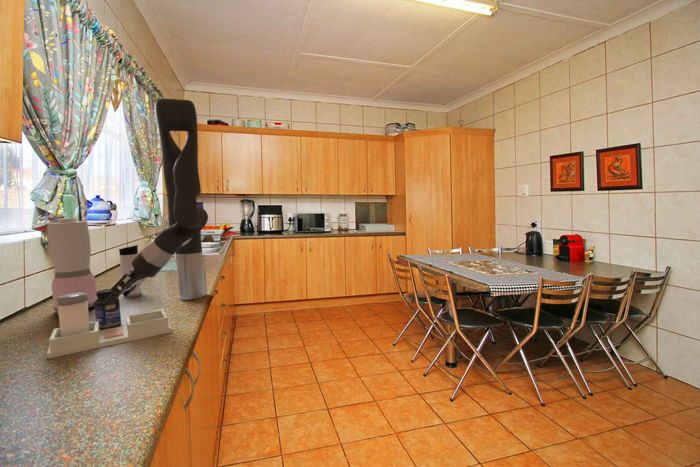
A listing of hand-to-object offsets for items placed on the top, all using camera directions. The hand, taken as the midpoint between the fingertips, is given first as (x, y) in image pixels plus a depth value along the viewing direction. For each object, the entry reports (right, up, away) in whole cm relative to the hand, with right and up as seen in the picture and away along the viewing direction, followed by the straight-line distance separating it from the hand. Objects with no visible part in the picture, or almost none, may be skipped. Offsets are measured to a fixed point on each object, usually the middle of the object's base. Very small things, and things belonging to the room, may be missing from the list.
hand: (116, 298), depth 105 cm
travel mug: (-17, -6, +37) cm, 41 cm away
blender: (-27, -8, +21) cm, 35 cm away
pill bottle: (-2, -9, +1) cm, 9 cm away
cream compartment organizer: (+5, -9, -8) cm, 13 cm away
